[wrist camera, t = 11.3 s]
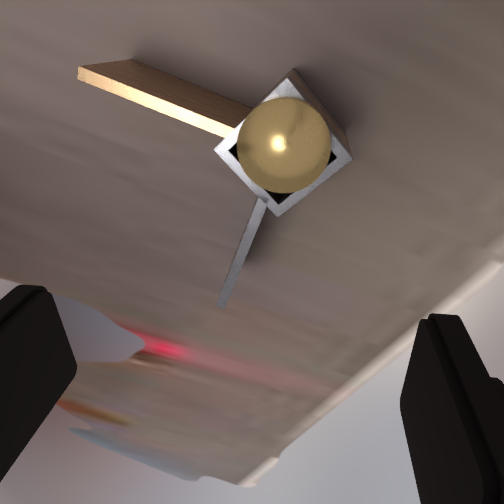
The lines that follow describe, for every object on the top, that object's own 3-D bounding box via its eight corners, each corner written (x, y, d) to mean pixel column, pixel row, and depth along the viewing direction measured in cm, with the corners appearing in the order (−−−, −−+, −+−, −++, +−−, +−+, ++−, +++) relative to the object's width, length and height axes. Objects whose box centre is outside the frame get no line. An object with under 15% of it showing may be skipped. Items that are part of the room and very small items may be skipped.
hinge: (206, -42, 27) (169, -67, 20) (370, 163, 33) (384, 198, 26) (87, 116, 34) (30, 137, 27) (238, 263, 40) (221, 310, 33)
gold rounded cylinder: (293, 65, 29) (286, 75, 22) (342, 124, 31) (350, 151, 24) (240, 120, 32) (217, 146, 25) (288, 171, 34) (280, 210, 26)
